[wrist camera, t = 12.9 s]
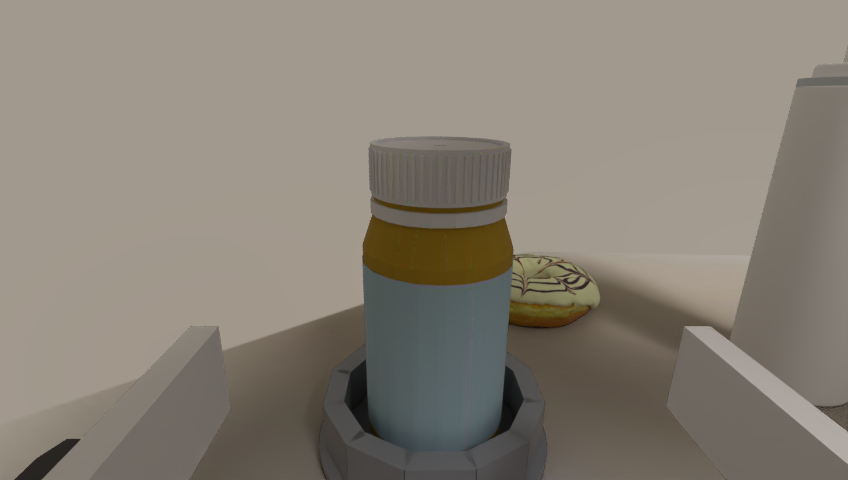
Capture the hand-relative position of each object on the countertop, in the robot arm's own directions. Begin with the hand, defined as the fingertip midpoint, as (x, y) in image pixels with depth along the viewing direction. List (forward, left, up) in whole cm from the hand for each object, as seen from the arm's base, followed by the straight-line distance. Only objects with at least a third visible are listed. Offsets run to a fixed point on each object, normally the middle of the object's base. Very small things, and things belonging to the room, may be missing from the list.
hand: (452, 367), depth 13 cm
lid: (0, -9, -10) cm, 13 cm away
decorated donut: (-10, -25, -11) cm, 28 cm away
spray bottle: (-24, -14, -10) cm, 30 cm away
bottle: (0, -9, -10) cm, 13 cm away
